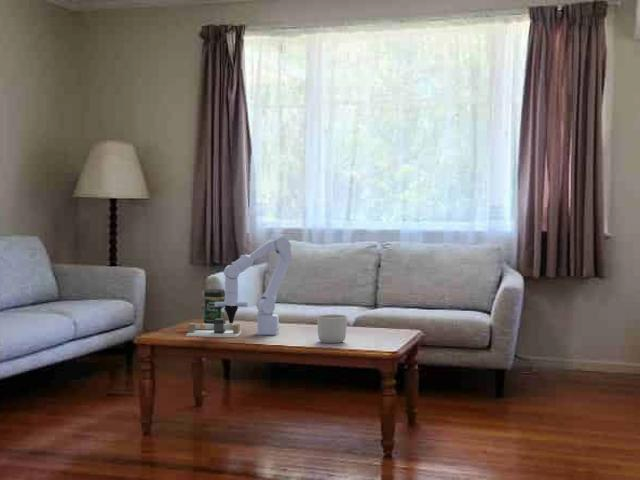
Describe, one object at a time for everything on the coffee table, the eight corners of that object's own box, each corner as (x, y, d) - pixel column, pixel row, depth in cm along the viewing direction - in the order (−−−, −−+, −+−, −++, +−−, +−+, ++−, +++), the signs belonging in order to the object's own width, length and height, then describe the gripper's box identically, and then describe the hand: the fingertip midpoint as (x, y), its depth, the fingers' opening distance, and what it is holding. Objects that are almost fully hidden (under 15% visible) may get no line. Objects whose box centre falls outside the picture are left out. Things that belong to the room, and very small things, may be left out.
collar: (225, 331, 355) (225, 318, 355) (222, 332, 349) (222, 319, 349) (216, 330, 355) (216, 318, 355) (213, 332, 350) (213, 319, 349)
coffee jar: (201, 329, 369) (201, 289, 369) (208, 326, 377) (208, 287, 376) (220, 330, 367) (220, 289, 366) (227, 327, 374) (227, 288, 374)
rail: (241, 333, 358) (241, 322, 357) (236, 337, 346) (236, 326, 345) (192, 332, 359) (192, 321, 359) (186, 336, 347) (186, 325, 347)
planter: (316, 339, 341) (316, 314, 341) (344, 339, 342) (345, 314, 341) (318, 344, 329) (318, 318, 328) (348, 344, 329) (348, 318, 329)
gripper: (249, 291, 355) (249, 322, 355) (217, 291, 356) (217, 321, 356) (246, 293, 348) (246, 324, 348) (213, 292, 349) (213, 323, 349)
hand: (231, 323), depth 352 cm, fingers closed
